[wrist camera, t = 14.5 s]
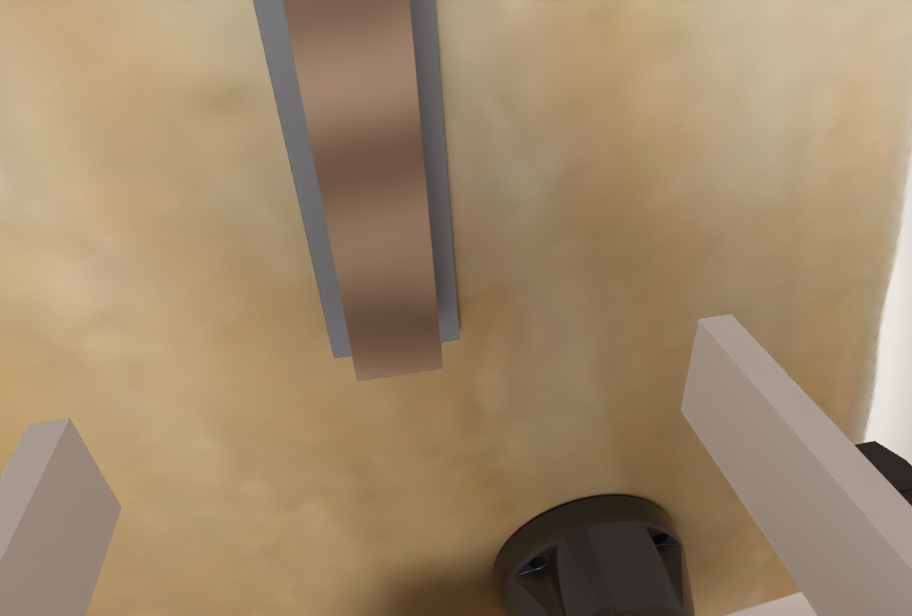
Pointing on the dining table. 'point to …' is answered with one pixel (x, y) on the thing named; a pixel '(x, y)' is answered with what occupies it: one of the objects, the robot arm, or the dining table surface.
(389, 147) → the walnut bar
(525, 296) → the dining table surface
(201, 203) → the dining table surface
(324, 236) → the tool rest mat
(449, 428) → the dining table surface
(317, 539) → the dining table surface
